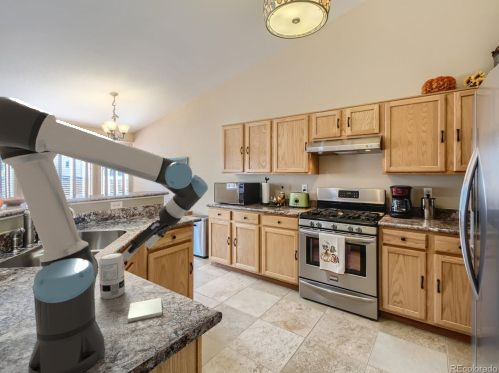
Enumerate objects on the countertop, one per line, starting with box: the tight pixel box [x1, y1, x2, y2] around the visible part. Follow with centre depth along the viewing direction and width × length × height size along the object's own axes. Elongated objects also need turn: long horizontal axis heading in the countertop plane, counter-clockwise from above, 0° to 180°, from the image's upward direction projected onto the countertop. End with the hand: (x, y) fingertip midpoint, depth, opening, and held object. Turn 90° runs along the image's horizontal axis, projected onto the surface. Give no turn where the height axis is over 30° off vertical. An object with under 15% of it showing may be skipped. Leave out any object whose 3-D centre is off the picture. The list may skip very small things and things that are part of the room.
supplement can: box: [98, 252, 126, 300], centre depth 95 cm, size 8×8×15 cm
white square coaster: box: [127, 297, 163, 322], centre depth 83 cm, size 10×10×1 cm
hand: (136, 251), depth 93 cm, fingers open, 13 cm apart
